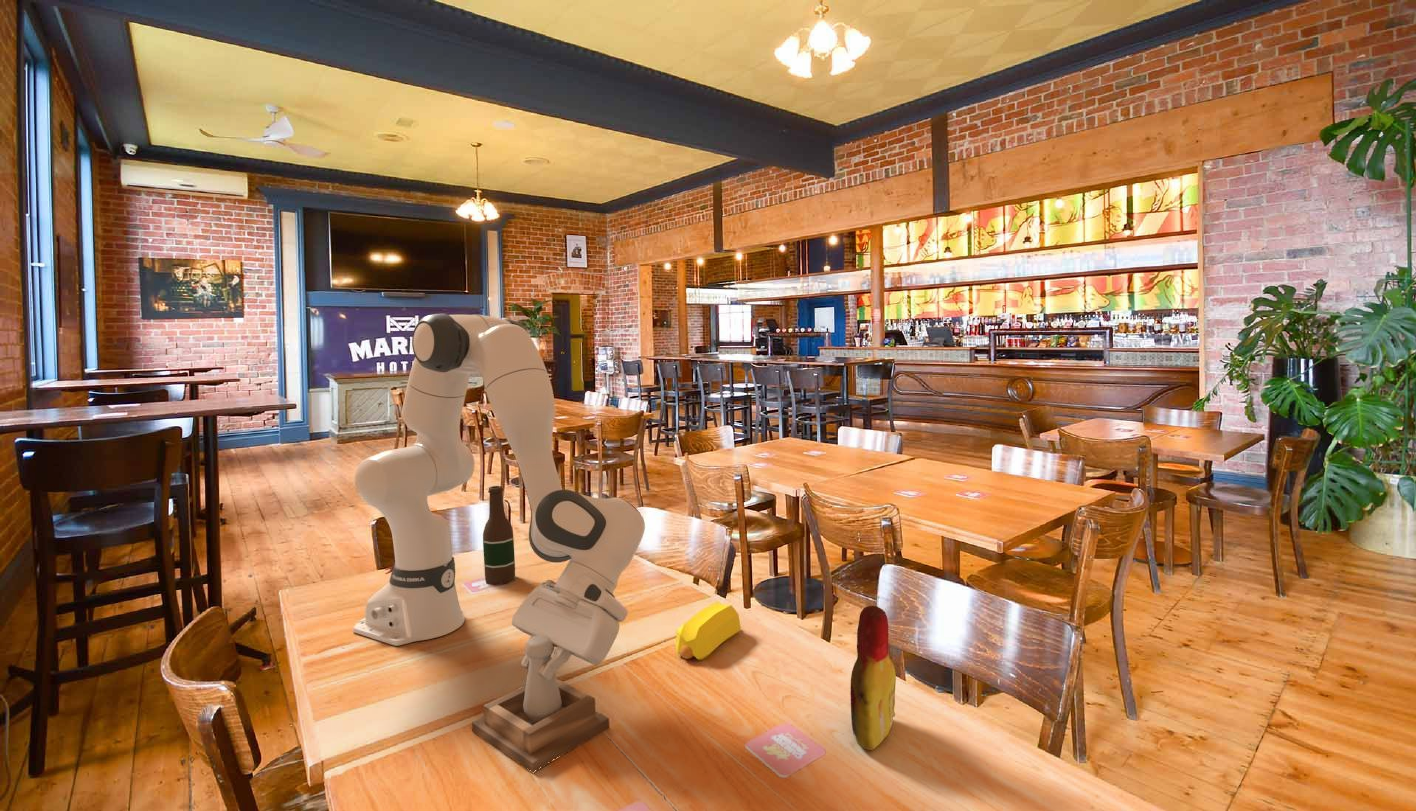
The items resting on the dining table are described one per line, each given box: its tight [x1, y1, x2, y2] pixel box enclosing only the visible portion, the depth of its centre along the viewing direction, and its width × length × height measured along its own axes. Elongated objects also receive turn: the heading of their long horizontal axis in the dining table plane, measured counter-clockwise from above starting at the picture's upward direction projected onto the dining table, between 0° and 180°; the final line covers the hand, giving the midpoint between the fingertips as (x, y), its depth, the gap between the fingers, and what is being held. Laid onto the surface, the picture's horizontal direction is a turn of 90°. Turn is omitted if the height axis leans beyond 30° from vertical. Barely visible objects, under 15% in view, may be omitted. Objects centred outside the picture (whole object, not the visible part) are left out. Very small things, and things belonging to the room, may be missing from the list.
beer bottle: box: [482, 485, 516, 586], centre depth 168 cm, size 8×8×24 cm
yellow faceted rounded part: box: [675, 601, 742, 661], centre depth 131 cm, size 18×7×8 cm
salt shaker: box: [523, 635, 562, 725], centre depth 103 cm, size 6×6×13 cm
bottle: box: [849, 605, 897, 751], centre depth 99 cm, size 12×6×20 cm, turn 152°
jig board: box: [471, 678, 610, 773], centre depth 103 cm, size 16×14×4 cm
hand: (534, 672), depth 102 cm, fingers closed on salt shaker, 3 cm apart
